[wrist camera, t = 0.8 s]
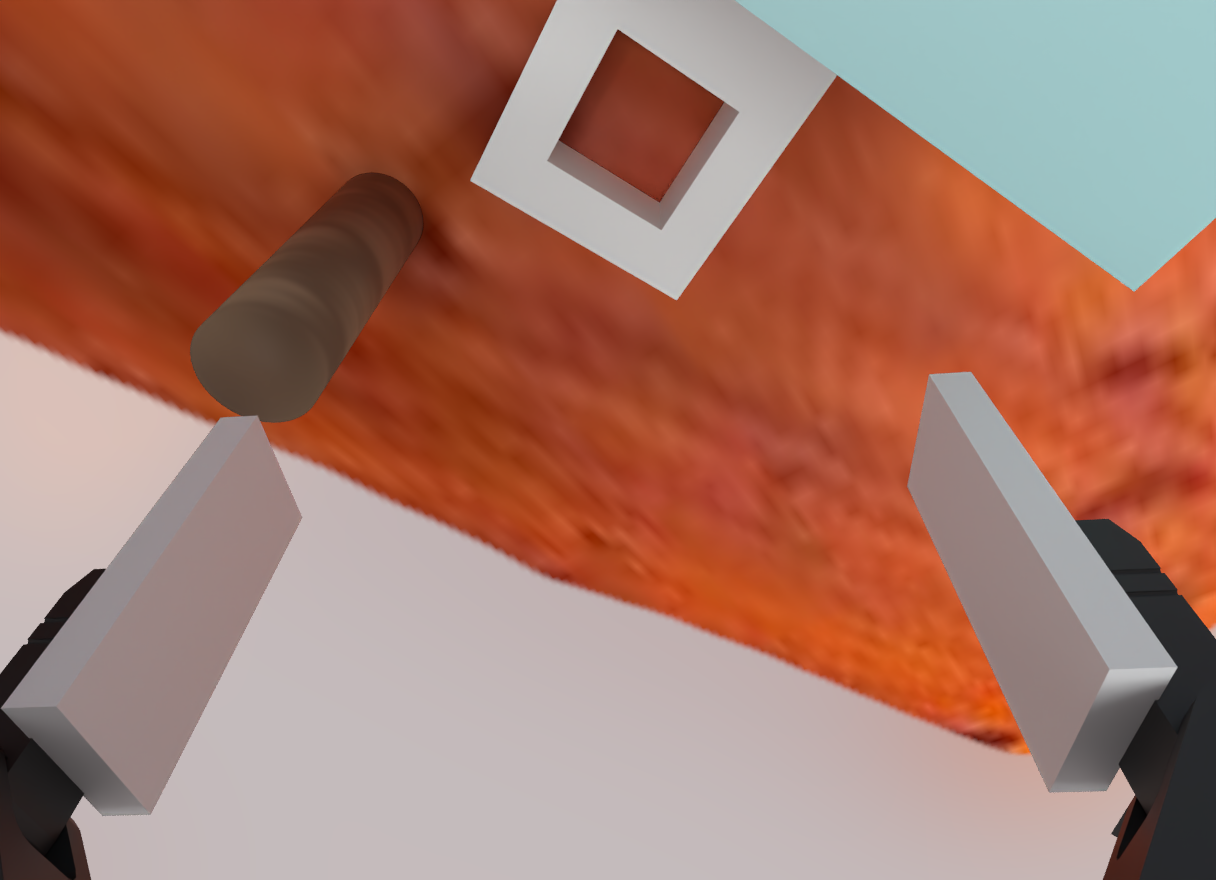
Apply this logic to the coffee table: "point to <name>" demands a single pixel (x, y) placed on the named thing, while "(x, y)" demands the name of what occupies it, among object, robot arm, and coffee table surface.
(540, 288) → the coffee table surface
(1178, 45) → the station
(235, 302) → the peg
